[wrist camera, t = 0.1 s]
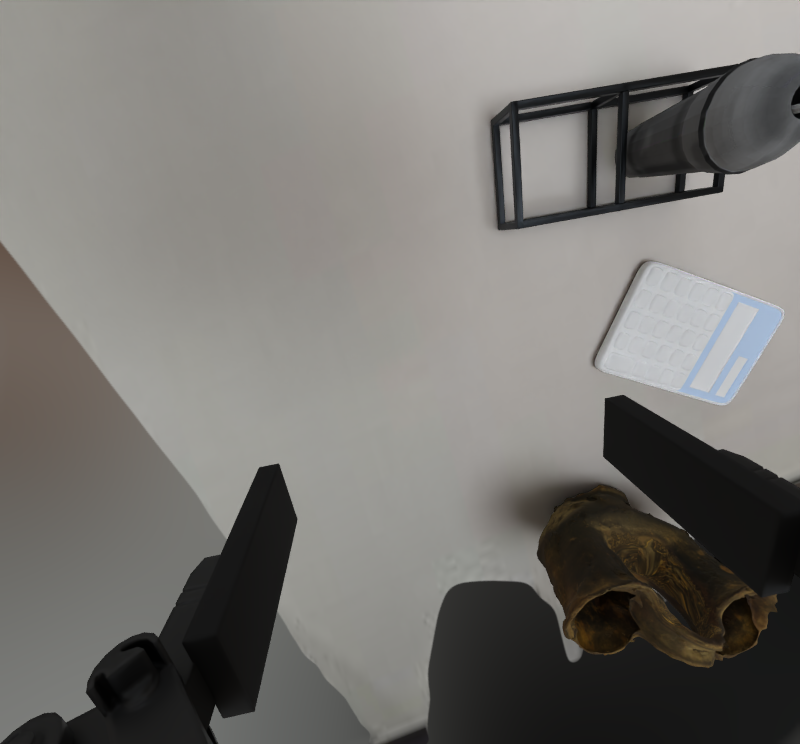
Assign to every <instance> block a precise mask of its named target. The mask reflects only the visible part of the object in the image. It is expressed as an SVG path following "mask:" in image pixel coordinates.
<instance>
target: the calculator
mask: <svg viewBox="0 0 800 744" xmlns="http://www.w3.org/2000/svg"><path fill="white" fill-rule="evenodd" d="M784 313H785V312H784V310H783V309H782V308H780V307H779V306H776V305H774V304H771V303H769V302H766V301H763V300H761V299H758V298H755V297H752V296H750V295H747V294H744V293H742V292H739V291H736V290H734V289H731V288H728V287H725V286H723V285H720V284H717V283H715V282H712V281H709V280H706V279H704V278H701V277H698V276H696V275H693V274H690V273H687V272H685V271H682V270H679V269H677V268H674V267H671V266H668V265H666V264H663V263H659V262H655V261H648V262H645V263H644V264H643V265H642V266H641V267H640V269H639V270H638V272H637V274H636V276H635V278H634V280H633V282H632V284H631V286H630V288H629V290H628V292H627V294H626V296H625V298H624V300H623V302H622V304H621V306H620V308H619V311H618V313H617V315H616V317H615V319H614V321H613V323H612V325H611V327H610V329H609V331H608V333H607V335H606V337H605V339H604V341H603V343H602V345H601V347H600V350H599V352H598V354H597V356H596V359H595V367H596V368H597V369H599V370H600V371H603V372H605V373H608V374H612V375H615V376H619V377H622V378H626V379H629V380H632V381H636V382H639V383H643V384H646V385H650V386H653V387H657V388H660V389H663V390H667V391H670V392H674V393H677V394H681V395H684V396H688V397H691V398H694V399H698V400H701V401H705V402H708V403H712V404H716V405H727V404H728V403H730V402H731V401H732V400H733V398H734V397H735V395H736V394H737V392H738V391H739V389H740V388H741V386H742V384H743V383H744V381H745V380H746V378H747V376H748V375H749V373H750V372H751V370H752V368H753V367H754V365H755V364H756V362H757V361H758V359H759V357H760V356H761V354H762V353H763V351H764V349H765V348H766V346H767V345H768V343H769V341H770V340H771V338H772V337H773V335H774V333H775V332H776V330H777V329H778V327H779V325H780V324H781V322H782V320H783V318H784Z"/></svg>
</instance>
